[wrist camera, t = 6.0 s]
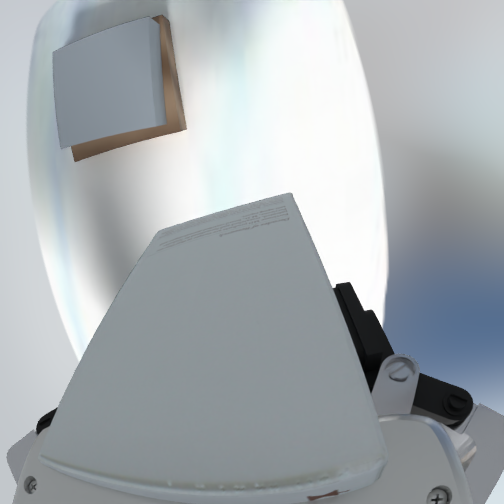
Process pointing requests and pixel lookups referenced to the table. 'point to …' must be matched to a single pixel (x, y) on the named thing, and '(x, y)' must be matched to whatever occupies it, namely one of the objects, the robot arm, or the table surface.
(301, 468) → the supplement box
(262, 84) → the table surface
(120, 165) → the table surface
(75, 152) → the walnut base slab
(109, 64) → the slate grey slab
